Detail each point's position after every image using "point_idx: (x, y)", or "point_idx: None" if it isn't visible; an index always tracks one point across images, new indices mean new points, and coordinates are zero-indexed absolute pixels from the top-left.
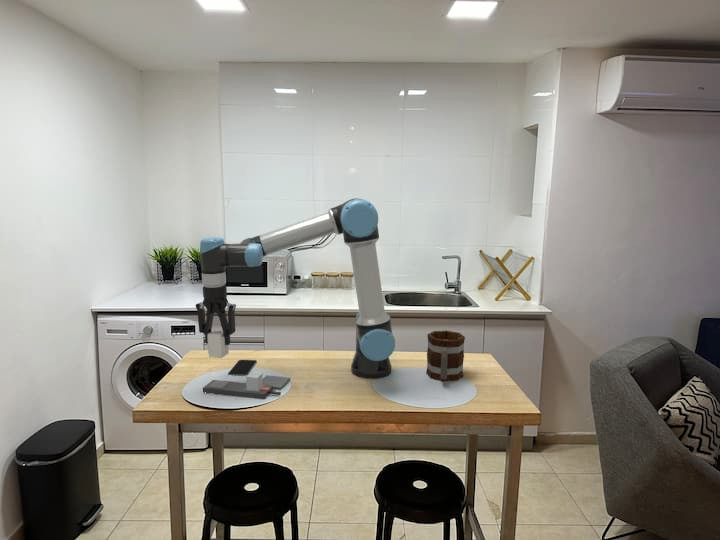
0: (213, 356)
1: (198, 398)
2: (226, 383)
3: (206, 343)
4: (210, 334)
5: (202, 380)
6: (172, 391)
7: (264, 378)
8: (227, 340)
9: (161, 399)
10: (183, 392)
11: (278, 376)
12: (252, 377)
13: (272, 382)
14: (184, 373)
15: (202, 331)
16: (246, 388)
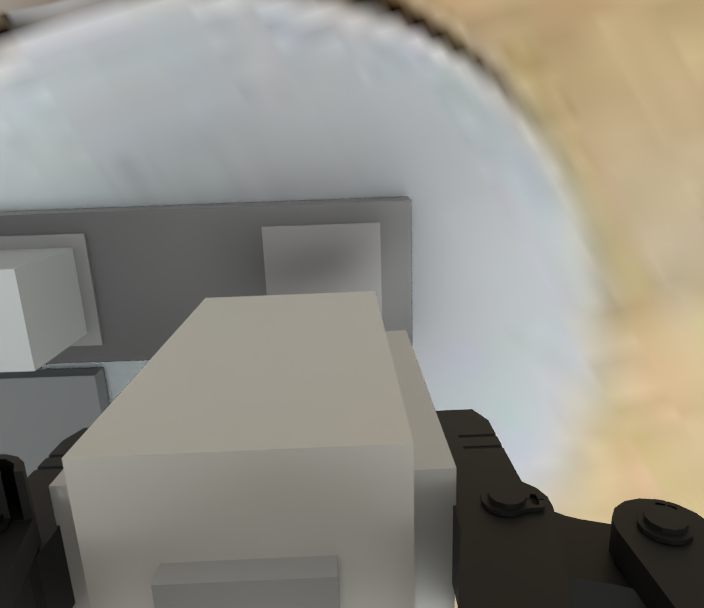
0: (314, 296)
1: (388, 101)
2: None
3: (466, 411)
4: (334, 440)
5: (519, 383)
6: (635, 161)
7: None
8: (49, 472)
9: (646, 7)
10: (548, 167)
11: None
12: None
13: (14, 440)
14: (698, 453)
15: (613, 529)
16: (67, 248)
